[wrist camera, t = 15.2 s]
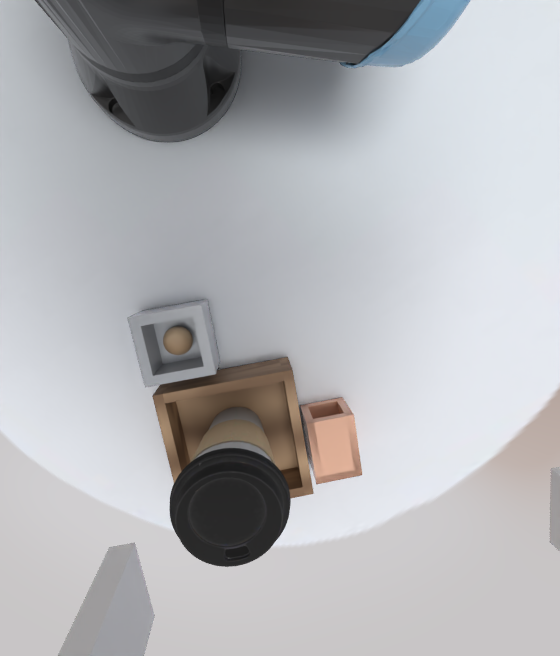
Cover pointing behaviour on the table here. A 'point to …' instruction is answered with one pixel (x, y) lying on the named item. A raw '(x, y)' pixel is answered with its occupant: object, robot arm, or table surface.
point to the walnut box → (237, 391)
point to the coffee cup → (230, 493)
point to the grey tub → (158, 360)
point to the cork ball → (177, 340)
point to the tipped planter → (331, 440)
